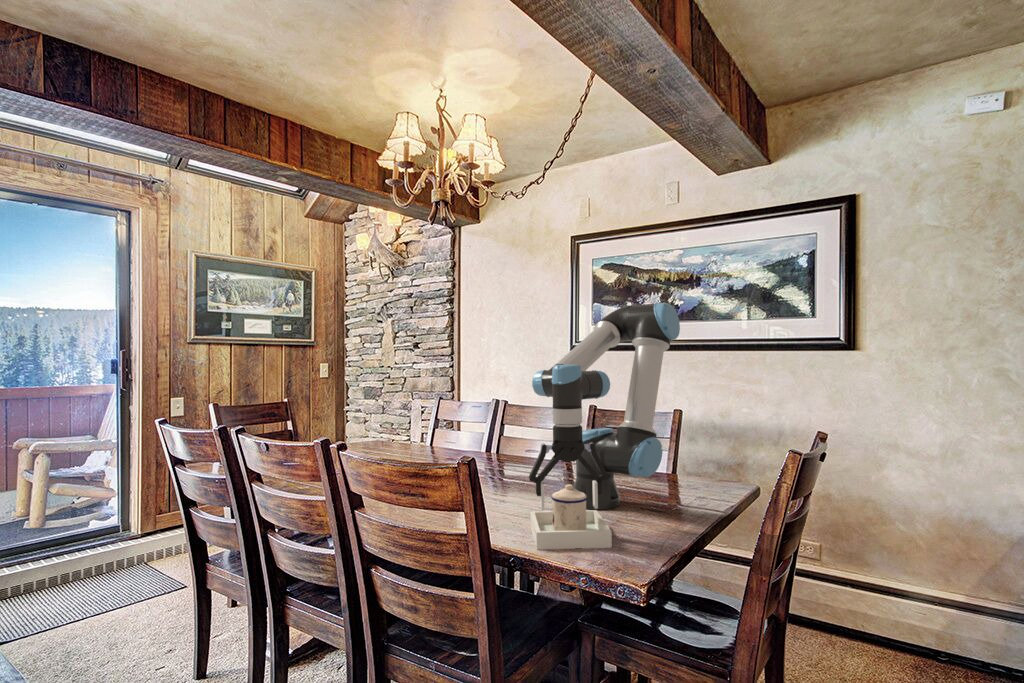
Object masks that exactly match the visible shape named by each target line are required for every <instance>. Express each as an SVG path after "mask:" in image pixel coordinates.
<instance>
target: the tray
mask: <svg viewBox="0 0 1024 683" xmlns="http://www.w3.org/2000/svg"><path fill="white" fill-rule="evenodd" d="M530 529H531V532H532V538H533V540H534V541H533V542H534V544H535V548H536V549H535V550H537V549H540V550H569V549H570V550H573V549H575V548H582V549H611V548H612V543H613V542H612V537H613V536H612V530H611V528H610V527H609V526H608V524H607V522H606V521H605V520H604V518H603V517H602V516H601V514H600V513H599V511H598V509H586V530H570V531H553V510H539V511H537V510H536V511H534V510H533V511H530ZM575 550H576V549H575Z"/></svg>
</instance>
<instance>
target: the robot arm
mask: <svg viewBox="0 0 1024 683" xmlns="http://www.w3.org/2000/svg"><path fill="white" fill-rule="evenodd" d="M680 330H681V324H680V318H679V316H678V313H677V311H676V308H674V306H673V305H672V304H670V303H668V302H655V303H644V304H633V305H632V304H631V305H625V306H622V307H619V308H617V309H616V310H613V311H612V312H610V313H608V314H607V315H606V316H605V317H603V318H602V319H600V320H599V321H598V322H597V323H596V324H595V325H594V327H593V330H592V331H591V332H590V333H589V334H588V335H586V337H585V338H583V339H582V340H581V341H580V342H579V343H578V344H577V345H575V346H574V347H573V348H572V349H571V350H570V351H569V352H567V354H566V355H564V356H563V357H562V358H561V359H560V360H559V361H558V362H556V363H555V364H554V365H553V366H552V367H550V369H548V370H546V369H543V370H538V371H536V372H535V373H534V374H533V377H532V380H531V386H532V389H533V391H534V393H535V394H536V395H538V396H541V397H546V398H550V397H551V398H552V423H553V426H552V444H545V443H543V442H542V443H541V444H540V452H539V454H538V456H537V459H536V460H535V463H534V465H533V466H532V468H531V471H530V473H529V475H528V480H529V482H533V483H534V484H535V494H536V497H540V503H539V504H540V509H541V510H540V511H546V510H545V484H544V482H543V481H544V479H546V478H547V476H548V475H549V473H551V471H552V470H553V469H554V467H555V466H556V465H557V464H558V463H559V462H562V463H566V462H572V463H575V464H576V465H575V470H576V473H575V474H576V475H575V476H576V477H575V481H574V485H573V488H574V489H576V490H578V491H579V492H582V493H584V494H585V495H586V497H587V500H586V510H609V509H614V508H618V507H619V506H620V504H621V500H620V499H621V497H620V496H621V495H620V493H619V491H618V487H617V484H616V481H615V474H619V475H620V474H621V475H626V476H630V477H631V476H632V477H634V478H640V477H641V478H649V477H651V476H653V475H654V474H655V473H656V472H657V471H658V469H659V467H660V465H661V462H662V457H663V448H662V447H663V445H662V442H661V441H660V439H658V438H657V436H658V434H657V432H656V430H655V428H653V427H654V422H655V420H654V419H655V412H656V408H657V407H656V406H657V398H658V392H659V386H660V381H661V372H662V364H663V358H664V353H665V352H666V351H668V350H669V349H670V345H671V341H674V340H677V338H678V337H679V335H680ZM624 342H631V344H632V345H633V347H634V348H635V350H634V356H633V362H632V366H631V368H632V369H631V374H630V379H629V380H630V381H629V388H628V392H627V393H628V394H627V399H626V400H627V401H626V407H625V410H624V419H623V422H622V423H620V424H619V425H617V430H616V433H615V432H614V428H611V427H603V428H602V427H601V428H592V429H584V430H583V426H582V425H581V424H583V408H582V407H583V400H591V399H592V400H593V399H596V400H597V399H600V398H603V397H605V396H607V395H608V393H609V391H610V389H611V381H610V378H609V376H608V375H607V373H606V372H604V371H602V370H597V369H595V370H588V369H589V368H590V367H592V366H593V365H594V364H595V363H596V362H597V361H598V360H599V359H600V357H602V356H603V355H604V354H605V353H606V352H607V351H608V350H610V348H611V349H612V348H615V347H617V346H618V345H619V344H621V343H624ZM550 450H551V451H552V452H553V454H554V455H553V456H552V457H551V459H550V460H549V462H547V464H546V465H545V467H543V469H542V470H541V471H540V472H539V470H540V468H541V466H542V464H543V462H544V460H545V458H546V454H548V453H549V452H550ZM538 472H539V474H538Z"/></svg>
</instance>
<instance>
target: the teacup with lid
mask: <svg viewBox="0 0 1024 683" xmlns="http://www.w3.org/2000/svg"><path fill="white" fill-rule="evenodd" d="M573 487H574V485H573V484H566V485H565V486H564V488H562V489H560V490H559V491H555V492H553V493H552V494H551V499H552V501H551V502H552V511H553V531H570V530H586V510H587V509H586V500H587V497H586V495H585V494H584V493H582V492H579V491H578V490H576V489H574V488H573Z"/></svg>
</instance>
